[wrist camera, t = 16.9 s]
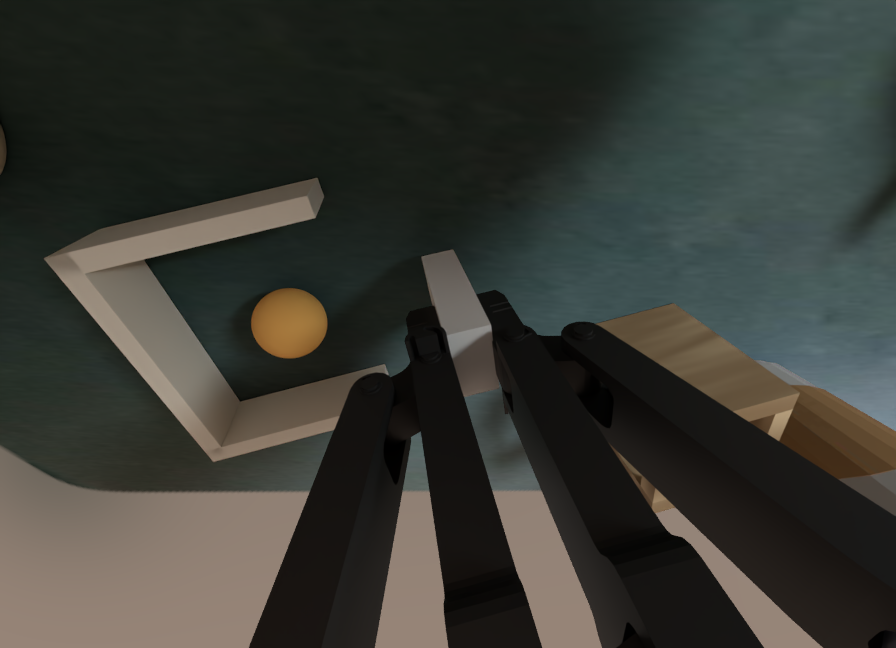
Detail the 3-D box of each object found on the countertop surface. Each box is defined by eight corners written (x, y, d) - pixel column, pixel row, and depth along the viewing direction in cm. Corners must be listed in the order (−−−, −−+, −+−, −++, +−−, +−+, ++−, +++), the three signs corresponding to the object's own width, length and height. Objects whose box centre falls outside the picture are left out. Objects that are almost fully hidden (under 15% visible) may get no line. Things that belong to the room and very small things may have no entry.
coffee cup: (685, 445, 31) (903, 692, 18) (680, 376, 26) (964, 639, 14) (785, 405, 30) (1081, 629, 18) (797, 326, 26) (1205, 553, 13)
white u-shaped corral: (99, 229, 16) (43, 258, 13) (317, 177, 16) (306, 195, 13) (232, 415, 22) (213, 462, 19) (388, 374, 22) (391, 414, 19)
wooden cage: (577, 328, 23) (666, 430, 16) (673, 303, 23) (800, 392, 16) (578, 404, 26) (650, 514, 19) (661, 382, 26) (760, 482, 20)
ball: (281, 306, 15) (328, 275, 17) (221, 308, 16) (274, 278, 19) (309, 374, 16) (348, 335, 19) (253, 371, 17) (297, 335, 20)
